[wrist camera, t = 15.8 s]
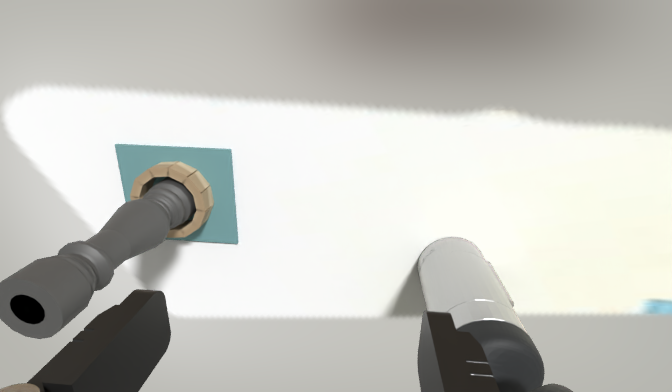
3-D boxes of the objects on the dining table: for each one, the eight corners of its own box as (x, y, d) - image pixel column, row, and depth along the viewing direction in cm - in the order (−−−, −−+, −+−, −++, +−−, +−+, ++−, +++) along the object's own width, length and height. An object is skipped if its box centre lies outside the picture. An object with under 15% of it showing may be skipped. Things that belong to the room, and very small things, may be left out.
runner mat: (231, 149, 49) (230, 149, 49) (238, 242, 54) (237, 243, 54) (116, 144, 50) (114, 144, 50) (133, 235, 55) (132, 237, 55)
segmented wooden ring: (222, 181, 51) (214, 188, 48) (200, 239, 54) (191, 248, 51) (154, 149, 50) (141, 154, 47) (136, 209, 53) (123, 218, 51)
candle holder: (150, 196, 52) (-24, 308, 29) (173, 166, 51) (7, 260, 27) (185, 224, 54) (45, 353, 30) (209, 195, 52) (79, 310, 28)
